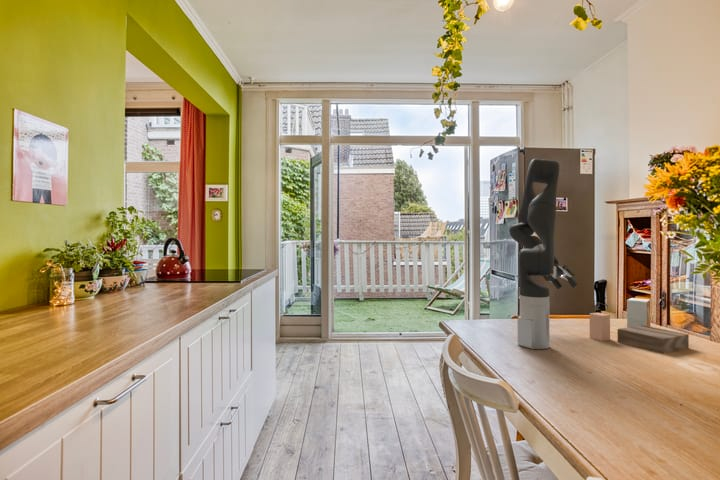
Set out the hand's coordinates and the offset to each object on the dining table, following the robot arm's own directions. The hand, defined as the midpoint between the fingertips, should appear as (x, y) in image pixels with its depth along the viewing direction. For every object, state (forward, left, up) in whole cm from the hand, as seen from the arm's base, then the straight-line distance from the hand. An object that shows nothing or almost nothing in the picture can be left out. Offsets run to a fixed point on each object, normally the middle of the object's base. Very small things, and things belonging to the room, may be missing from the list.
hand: (568, 287), depth 145 cm
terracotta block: (0, -13, -17) cm, 21 cm away
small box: (+21, -14, -18) cm, 30 cm away
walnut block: (+8, -25, -18) cm, 32 cm away
